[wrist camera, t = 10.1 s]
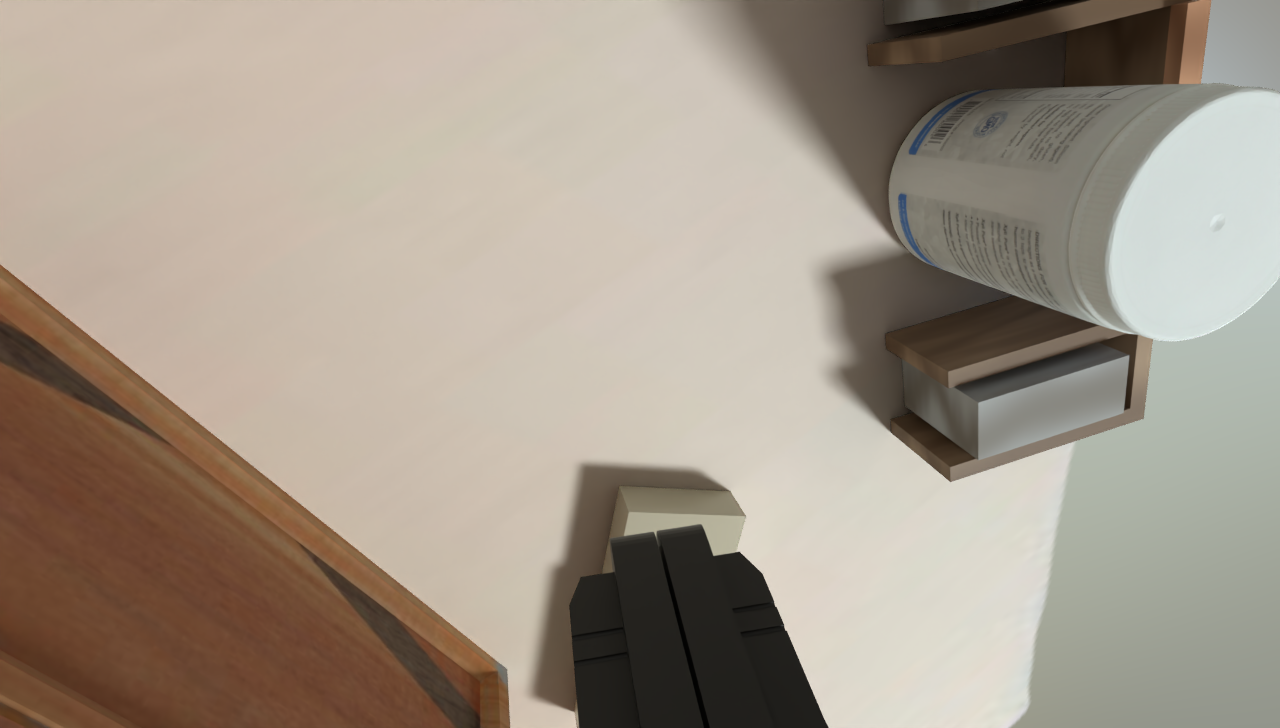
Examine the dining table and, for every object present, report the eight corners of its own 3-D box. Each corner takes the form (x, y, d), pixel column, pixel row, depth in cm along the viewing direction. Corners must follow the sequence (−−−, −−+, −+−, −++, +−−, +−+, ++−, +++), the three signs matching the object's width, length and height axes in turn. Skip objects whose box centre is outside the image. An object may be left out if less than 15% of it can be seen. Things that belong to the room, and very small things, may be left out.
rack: (858, -95, 32) (1007, -167, 23) (1095, -145, 33) (1321, -231, 24) (891, 432, 43) (997, 520, 35) (1064, 378, 45) (1208, 449, 36)
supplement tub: (1009, 263, 41) (1268, 348, 27) (866, 265, 39) (1072, 357, 25) (1052, 89, 37) (1373, 89, 24) (897, 81, 35) (1154, 75, 22)
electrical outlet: (751, 525, 39) (687, 754, 45) (728, 487, 43) (671, 704, 49) (632, 521, 37) (581, 761, 43) (618, 482, 41) (572, 708, 47)
